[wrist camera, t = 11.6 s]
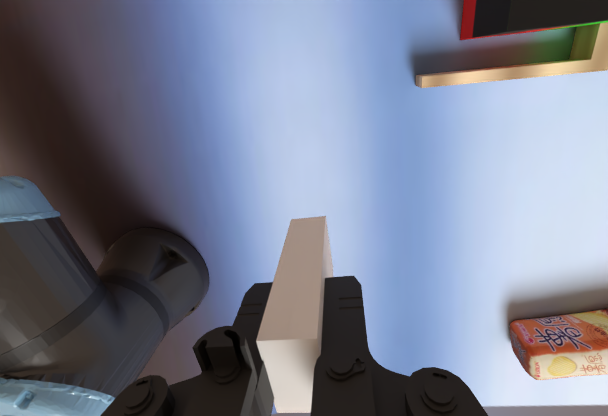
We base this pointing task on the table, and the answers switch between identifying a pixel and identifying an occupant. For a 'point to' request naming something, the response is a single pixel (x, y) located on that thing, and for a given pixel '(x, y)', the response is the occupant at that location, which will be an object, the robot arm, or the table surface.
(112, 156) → the table surface
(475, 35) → the puzzle toy
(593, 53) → the wooden open frame
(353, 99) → the table surface
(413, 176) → the table surface
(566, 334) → the snack package
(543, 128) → the table surface
